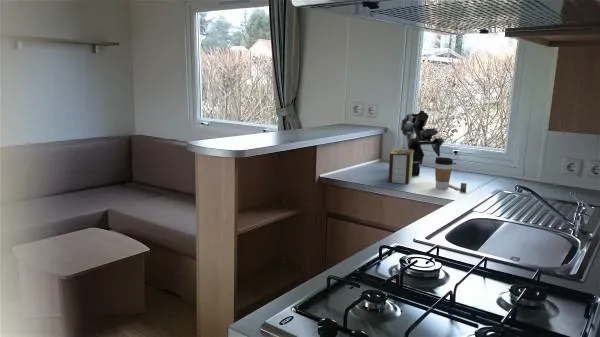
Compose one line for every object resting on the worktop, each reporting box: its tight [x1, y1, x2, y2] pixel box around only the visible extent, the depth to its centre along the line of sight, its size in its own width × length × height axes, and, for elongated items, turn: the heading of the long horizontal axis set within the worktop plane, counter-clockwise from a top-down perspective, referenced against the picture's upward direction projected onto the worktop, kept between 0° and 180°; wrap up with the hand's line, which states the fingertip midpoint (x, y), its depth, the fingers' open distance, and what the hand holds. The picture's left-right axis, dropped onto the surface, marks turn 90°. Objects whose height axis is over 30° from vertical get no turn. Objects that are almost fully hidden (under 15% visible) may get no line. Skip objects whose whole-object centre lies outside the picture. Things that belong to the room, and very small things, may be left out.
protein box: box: [388, 148, 413, 185], centre depth 241 cm, size 10×15×16 cm
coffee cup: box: [434, 156, 454, 190], centre depth 226 cm, size 8×8×15 cm
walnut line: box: [448, 182, 468, 193], centre depth 228 cm, size 20×3×4 cm, turn 15°
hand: (431, 156), depth 236 cm, fingers open, 9 cm apart
